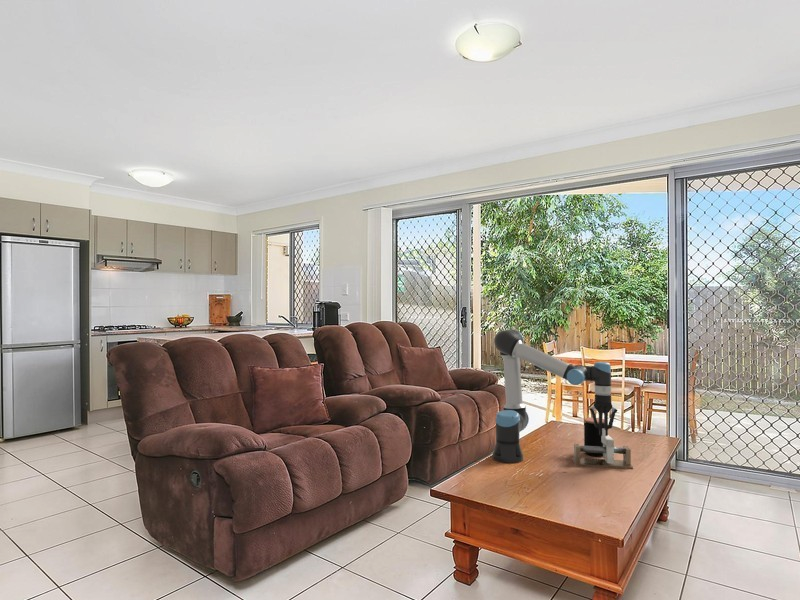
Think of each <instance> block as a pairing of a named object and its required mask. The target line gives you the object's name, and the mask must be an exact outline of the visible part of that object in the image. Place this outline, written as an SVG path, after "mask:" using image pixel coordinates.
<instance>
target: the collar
mask: <svg viewBox="0 0 800 600" xmlns="http://www.w3.org/2000/svg"><path fill="white" fill-rule="evenodd" d="M603 447H606V453H603V456H602V457H603V458H602V459H605V461H606V462H607V463H612V464H614V460H615V454H614V447H615V440H614V439H613V438H612V437H611V435H609V434H608V436H606V443H603Z"/></svg>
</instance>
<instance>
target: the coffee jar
mask: <svg viewBox="0 0 800 600" xmlns="http://www.w3.org/2000/svg"><path fill="white" fill-rule="evenodd" d="M596 419H597V423H598V425H599V417H596ZM583 421H584V423H583V434H584V436H583V444H584V445H583V446H601V447H603V443H602V442H601V436H600V435H599V428H596V427H595V424H594V420H593V417H591V416H590V417H585V418H584V419H583ZM602 429H605V428H604V418H602ZM584 453H585V455H587V456H589V457H595V458H599V457H603V453H593V452H584Z"/></svg>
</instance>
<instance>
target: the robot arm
mask: <svg viewBox="0 0 800 600" xmlns="http://www.w3.org/2000/svg"><path fill="white" fill-rule="evenodd" d="M493 344H494V347H495V348H496V350H498V352H499V355H500V357H501V358H502V360H503V375H504V389H505V390H504V394H505V395H504V396H505V404H504V405H503V410H500V411H498V412H497V413H496V415H495V445H494V448H493V451H492V459H493V460H494V461H496V462H499V463H508V464H511V463H512V464H515V463H520V462H523V460H524V454H523V450H522V448H521V444H520V432H522V431H523V430H525V429H526V427H528V424H529V420H530V418H529V414H528V412H527V408H526V405H525V404H524V403H523V391H522V390H523V389H522V373H521V360H523V361H525V362H527V363H529V364H531V365H534V366H535V367H538V368H540V369H541V370H544V371H547V372H548V373H551V374H553V375H555V376H557V377H560V378H562V379H563V380H565V381H567V382H568V383H569V384H570V385H573V386H578V385H582V384H583V383H584V382H594V393H595V394H594V403H593V406H592V407H588V409H589V411H590V412H591V416H592V417H593V420H594V424H595V427H596V428H599V435H600V436H601V442H602V443H606V436H608V435H609V432H608V431H609V429H612V428H613V424H614V422H615V421H614V420H615V416H616V414H617V412H618V409H617V408H615V407H613V404H612V395H611V394H612V370H611V369H612V367H611V366H612V365H611V364H610V362H607V361H606V362H605V361H595V362H594V365H578V364H574V365H572V364H570V363H568V362H565V361H563V360H562V359H559V358H557V357H554V356H553V355H550V354H548V353H545V352H544V351H541V350H539V349H537V348H535V347H532V346H530V345H528V344H526V343H525V341H524V336H523V334H522V333H521V332H519V331H518V330H516V329H506V330H500V331H499V332H498V333H496V334H495V337H494V339H493ZM595 411H597V413H598V418H599V425H598V423H597V419H596V418H597V416H596V413H595ZM610 411H611V414H610V417H609V412H610ZM602 419H604V428H605V429H602Z"/></svg>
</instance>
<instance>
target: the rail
mask: <svg viewBox="0 0 800 600" xmlns="http://www.w3.org/2000/svg"><path fill="white" fill-rule="evenodd" d="M631 451H632V450H631V448H630V447H629V446H627V445H623V446H622V447H621V446H620V447H619V446H618V447H617V446H614V455H616V454H617V455H618V454H619V455H622V459H614V464H612V463H607V462H606V461H605V459H604V458H585V457H581V453H585V452H593V453H606V447H601V446H584V445H579V444H578V443H574V444H573V457H572V461H573V463H574V465H575V466H576V467H592V468H594V467H595V468H609V469H610V468H612V469H613V468H615V469H629V470H631V469H632V470H634V466H633V465H632V461H631V459H632V456H631V454H632V453H631Z"/></svg>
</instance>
